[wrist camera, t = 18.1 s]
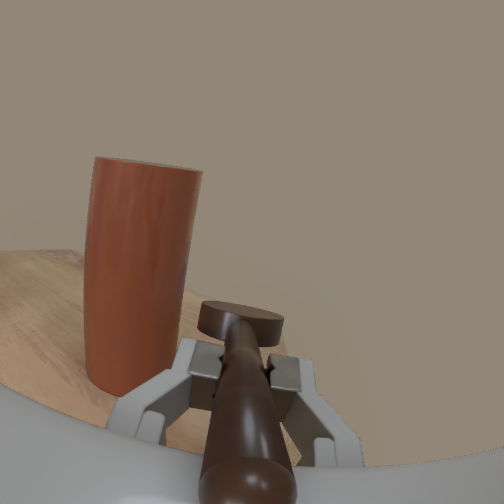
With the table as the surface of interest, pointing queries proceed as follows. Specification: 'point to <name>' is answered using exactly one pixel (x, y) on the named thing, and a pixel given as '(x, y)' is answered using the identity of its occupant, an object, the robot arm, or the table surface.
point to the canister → (135, 268)
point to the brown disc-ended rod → (244, 413)
